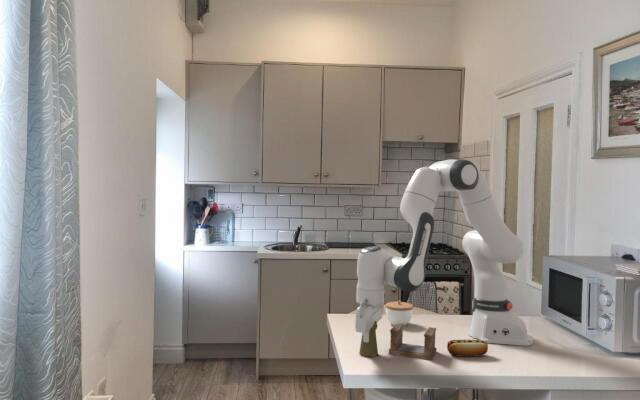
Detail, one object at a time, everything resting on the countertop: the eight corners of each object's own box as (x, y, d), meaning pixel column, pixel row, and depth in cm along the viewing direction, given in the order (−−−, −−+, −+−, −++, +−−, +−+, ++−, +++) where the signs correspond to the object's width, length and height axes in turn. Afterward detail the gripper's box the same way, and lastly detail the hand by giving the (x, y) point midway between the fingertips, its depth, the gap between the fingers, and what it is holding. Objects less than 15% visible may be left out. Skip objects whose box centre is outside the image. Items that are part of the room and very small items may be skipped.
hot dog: (490, 358, 165) (490, 343, 165) (449, 358, 164) (450, 342, 164) (484, 353, 170) (485, 338, 170) (445, 353, 169) (445, 338, 169)
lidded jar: (396, 319, 211) (397, 296, 210) (417, 324, 203) (418, 301, 202) (379, 323, 203) (380, 300, 203) (400, 329, 195) (401, 305, 195)
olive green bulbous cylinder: (365, 357, 162) (366, 323, 162) (355, 351, 168) (356, 318, 167) (381, 354, 165) (382, 321, 165) (371, 349, 170) (372, 316, 170)
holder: (436, 351, 171) (437, 328, 170) (431, 360, 162) (432, 335, 162) (395, 345, 176) (395, 323, 176) (388, 353, 167) (389, 330, 167)
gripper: (370, 304, 155) (369, 350, 155) (387, 291, 174) (386, 331, 174) (350, 302, 157) (349, 347, 158) (369, 289, 176) (368, 329, 177)
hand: (369, 339), depth 166 cm, fingers closed on olive green bulbous cylinder, 4 cm apart
